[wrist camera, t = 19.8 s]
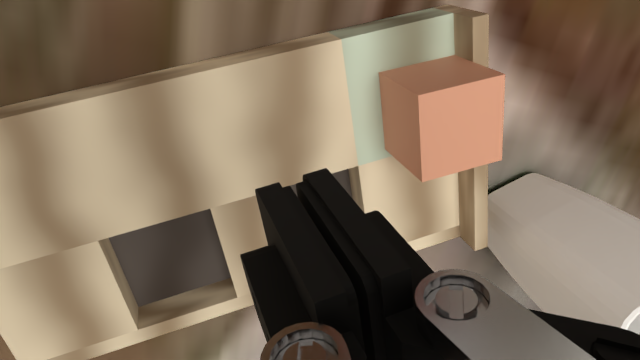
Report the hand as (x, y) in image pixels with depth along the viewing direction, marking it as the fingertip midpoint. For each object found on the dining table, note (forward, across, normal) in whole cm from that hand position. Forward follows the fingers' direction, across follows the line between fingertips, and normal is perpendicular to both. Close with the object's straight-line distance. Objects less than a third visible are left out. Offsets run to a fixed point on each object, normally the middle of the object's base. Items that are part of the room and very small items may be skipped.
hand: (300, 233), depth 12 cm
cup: (+19, -21, +18) cm, 33 cm away
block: (+17, -12, +6) cm, 22 cm away
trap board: (+20, 0, +9) cm, 22 cm away
